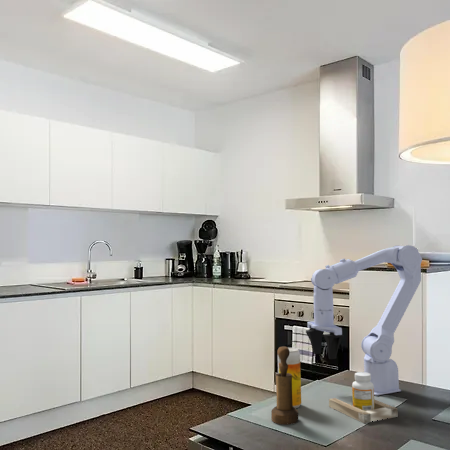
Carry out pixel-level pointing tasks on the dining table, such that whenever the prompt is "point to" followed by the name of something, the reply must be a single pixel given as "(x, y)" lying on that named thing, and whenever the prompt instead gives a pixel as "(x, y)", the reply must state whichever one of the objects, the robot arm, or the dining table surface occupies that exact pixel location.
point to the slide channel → (364, 416)
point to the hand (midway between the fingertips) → (324, 356)
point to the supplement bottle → (363, 391)
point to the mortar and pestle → (284, 393)
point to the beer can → (294, 374)
